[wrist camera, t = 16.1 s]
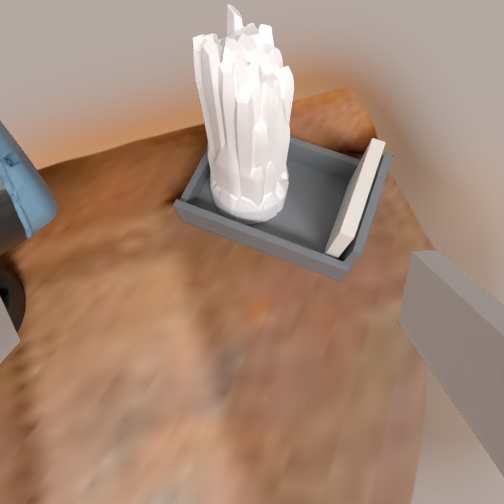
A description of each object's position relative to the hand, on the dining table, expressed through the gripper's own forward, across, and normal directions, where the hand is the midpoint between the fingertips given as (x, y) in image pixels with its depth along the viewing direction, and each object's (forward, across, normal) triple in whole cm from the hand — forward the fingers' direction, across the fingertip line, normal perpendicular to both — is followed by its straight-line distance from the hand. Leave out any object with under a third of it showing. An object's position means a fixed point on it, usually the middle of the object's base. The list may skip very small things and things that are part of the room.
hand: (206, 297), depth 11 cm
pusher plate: (+34, +15, -11) cm, 38 cm away
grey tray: (+37, +6, -9) cm, 39 cm away
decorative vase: (+38, +2, -7) cm, 39 cm away
